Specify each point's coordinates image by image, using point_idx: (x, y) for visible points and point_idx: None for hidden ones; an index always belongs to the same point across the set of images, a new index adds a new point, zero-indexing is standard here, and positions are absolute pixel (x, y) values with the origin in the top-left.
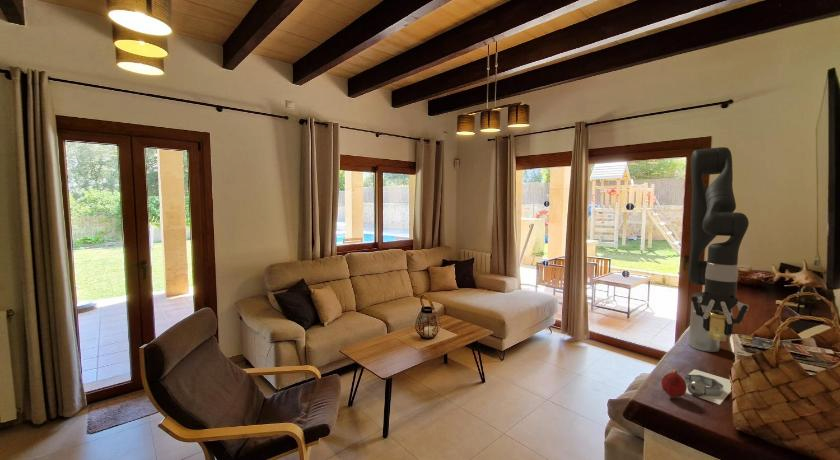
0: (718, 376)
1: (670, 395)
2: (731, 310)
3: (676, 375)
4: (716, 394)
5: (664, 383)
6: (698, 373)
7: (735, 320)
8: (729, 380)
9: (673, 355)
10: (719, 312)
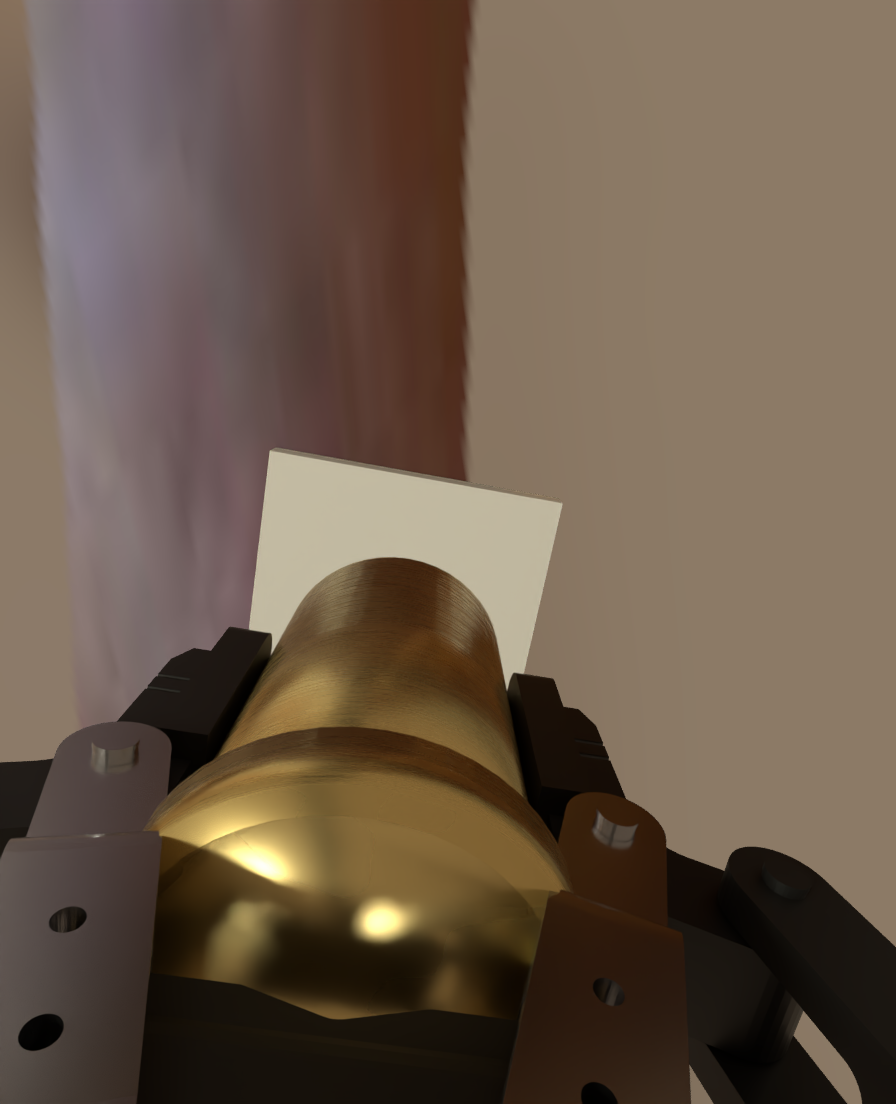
0: (438, 480)
1: None
2: (682, 1026)
3: None
4: None
5: None
6: (309, 526)
7: (690, 1050)
8: (509, 510)
9: (48, 103)
10: (349, 955)
